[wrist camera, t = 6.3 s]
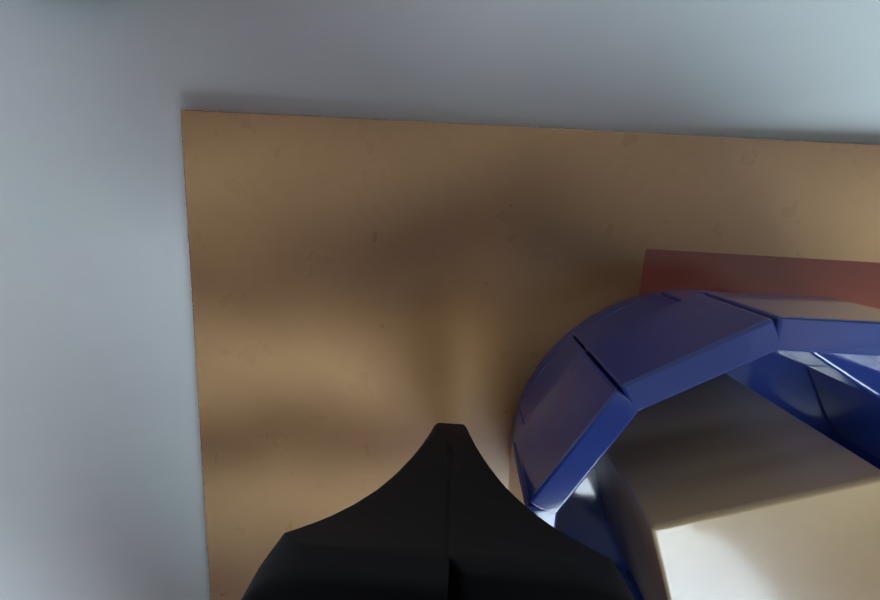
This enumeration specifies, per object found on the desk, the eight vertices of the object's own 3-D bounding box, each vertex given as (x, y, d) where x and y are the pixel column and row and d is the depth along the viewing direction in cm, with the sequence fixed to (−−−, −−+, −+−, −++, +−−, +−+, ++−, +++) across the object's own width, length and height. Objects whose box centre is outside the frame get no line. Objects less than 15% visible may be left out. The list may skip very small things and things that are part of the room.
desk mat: (910, 745, 16) (921, 759, 15) (221, 678, 17) (215, 690, 16) (1119, 158, 12) (1142, 157, 11) (188, 112, 12) (179, 109, 12)
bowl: (810, 601, 14) (1004, 818, 9) (487, 577, 15) (501, 774, 10) (890, 283, 12) (1201, 337, 7) (510, 266, 13) (544, 304, 7)
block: (743, 493, 13) (915, 666, 8) (607, 523, 13) (692, 704, 8) (720, 368, 12) (894, 475, 7) (577, 404, 13) (651, 527, 8)
